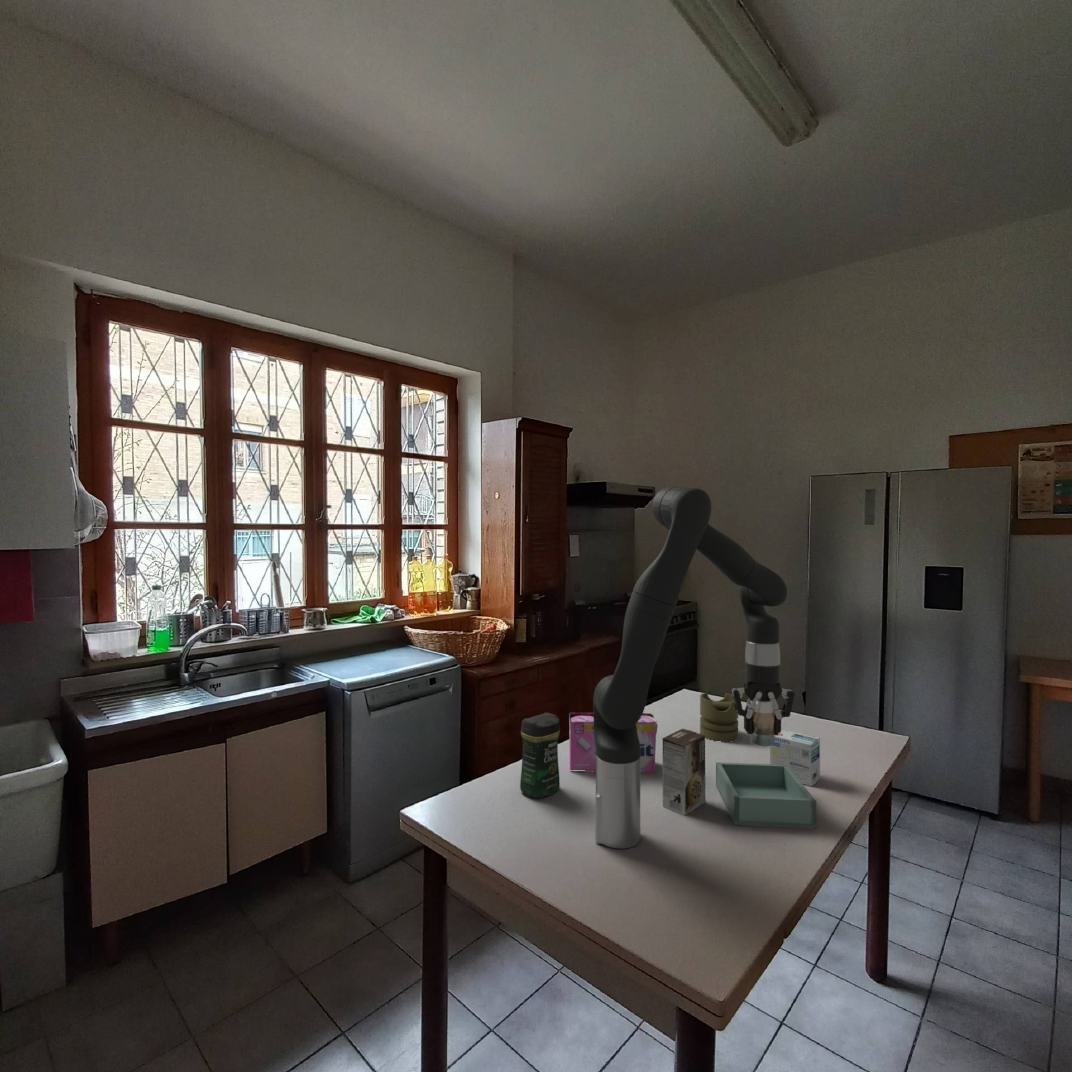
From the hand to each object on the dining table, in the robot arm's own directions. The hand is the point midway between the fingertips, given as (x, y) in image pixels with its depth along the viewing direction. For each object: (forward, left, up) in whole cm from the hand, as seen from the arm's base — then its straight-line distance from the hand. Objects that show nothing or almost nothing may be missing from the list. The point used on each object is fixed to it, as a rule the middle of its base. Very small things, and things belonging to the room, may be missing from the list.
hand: (762, 733), depth 135 cm
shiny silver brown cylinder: (0, 0, -2) cm, 2 cm away
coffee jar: (-52, +3, -17) cm, 55 cm away
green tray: (0, 0, -17) cm, 17 cm away
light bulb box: (+13, +17, -17) cm, 28 cm away
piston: (0, +46, -17) cm, 49 cm away
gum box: (-34, +19, -17) cm, 43 cm away
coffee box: (-18, -1, -17) cm, 25 cm away
